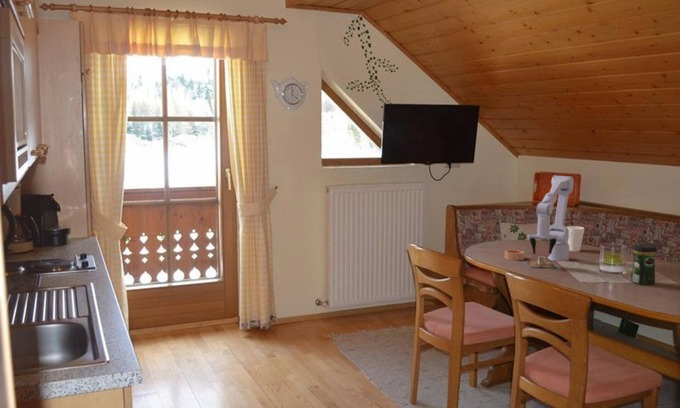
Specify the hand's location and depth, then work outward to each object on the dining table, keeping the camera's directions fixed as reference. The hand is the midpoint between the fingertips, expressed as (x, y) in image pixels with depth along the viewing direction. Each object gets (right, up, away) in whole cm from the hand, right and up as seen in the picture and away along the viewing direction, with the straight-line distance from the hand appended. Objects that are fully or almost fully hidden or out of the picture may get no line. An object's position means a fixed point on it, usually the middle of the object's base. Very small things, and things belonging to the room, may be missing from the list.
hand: (542, 253), depth 315 cm
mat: (0, -7, +1) cm, 7 cm away
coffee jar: (+37, -11, -28) cm, 48 cm away
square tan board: (0, -6, +1) cm, 6 cm away
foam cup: (+31, -2, +39) cm, 50 cm away
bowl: (-9, -4, +17) cm, 20 cm away
